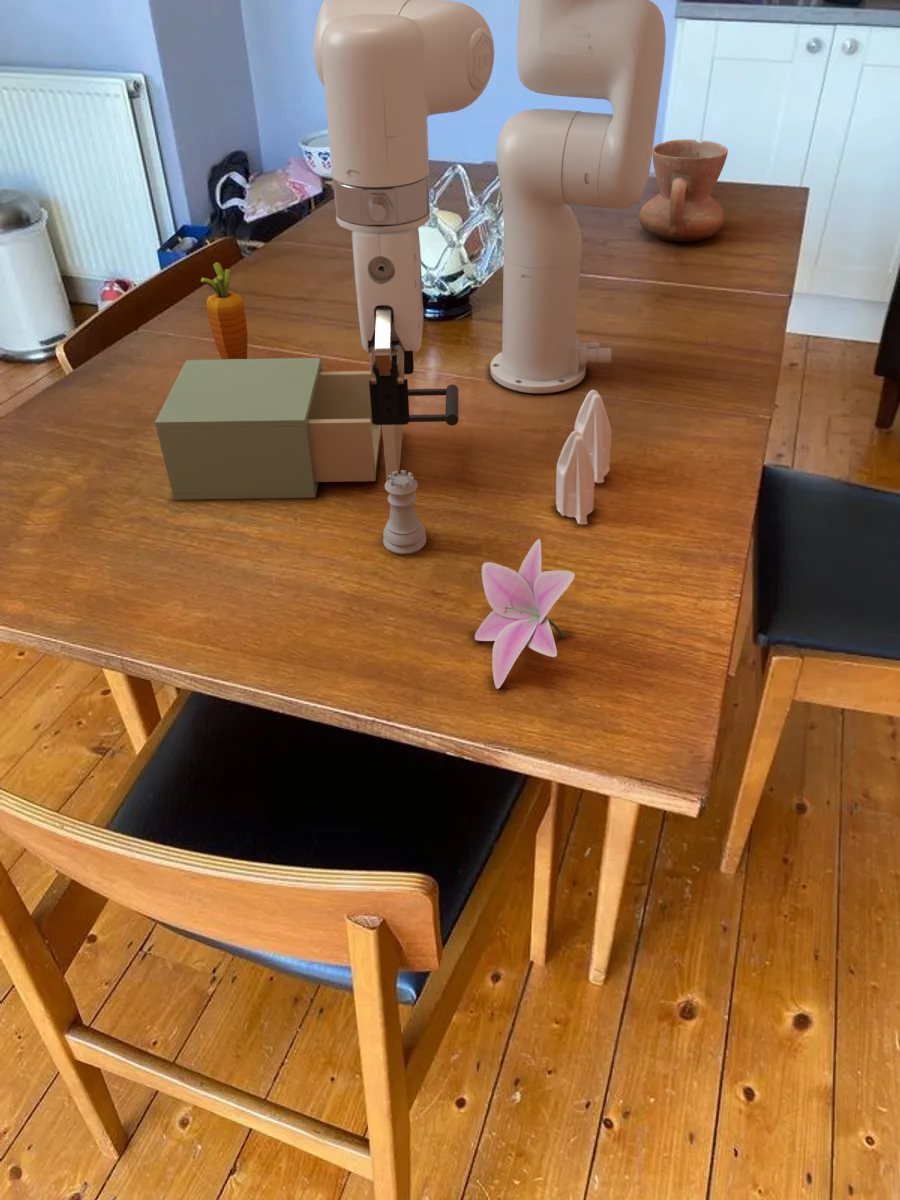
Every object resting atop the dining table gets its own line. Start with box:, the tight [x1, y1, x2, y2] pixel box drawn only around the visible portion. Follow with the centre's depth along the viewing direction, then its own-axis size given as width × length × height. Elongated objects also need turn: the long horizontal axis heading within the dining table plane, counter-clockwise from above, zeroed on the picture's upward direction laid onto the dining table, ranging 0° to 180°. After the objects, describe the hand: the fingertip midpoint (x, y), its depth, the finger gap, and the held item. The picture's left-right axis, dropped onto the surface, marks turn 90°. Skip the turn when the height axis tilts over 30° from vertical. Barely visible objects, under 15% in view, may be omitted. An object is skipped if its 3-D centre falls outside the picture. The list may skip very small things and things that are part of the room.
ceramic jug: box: [638, 138, 729, 243], centre depth 159 cm, size 18×14×14 cm
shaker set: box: [555, 389, 612, 526], centre depth 99 cm, size 12×4×11 cm, turn 159°
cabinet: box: [154, 357, 323, 501], centre depth 105 cm, size 16×15×10 cm
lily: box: [474, 538, 576, 690], centre depth 81 cm, size 12×12×10 cm
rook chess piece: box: [382, 469, 427, 556], centre depth 93 cm, size 4×4×8 cm
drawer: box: [307, 370, 459, 483], centre depth 105 cm, size 21×13×8 cm, turn 90°
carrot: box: [200, 262, 249, 359], centre depth 120 cm, size 5×5×15 cm
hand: (394, 397), depth 85 cm, fingers open, 9 cm apart
